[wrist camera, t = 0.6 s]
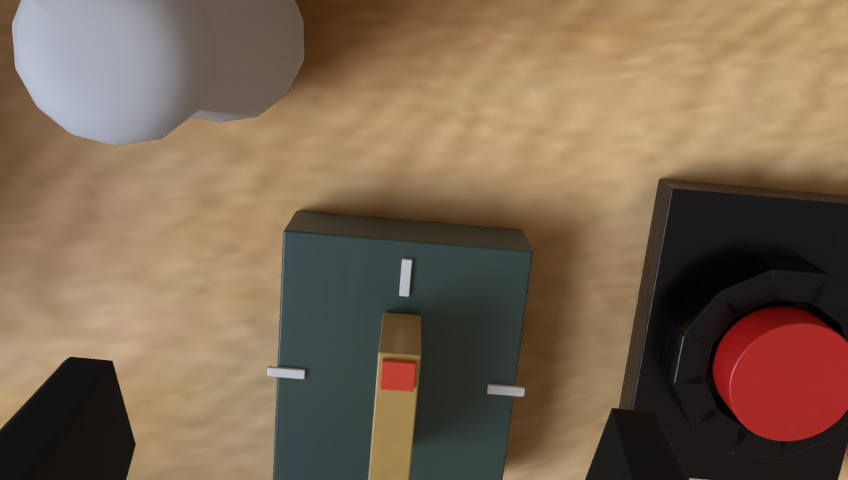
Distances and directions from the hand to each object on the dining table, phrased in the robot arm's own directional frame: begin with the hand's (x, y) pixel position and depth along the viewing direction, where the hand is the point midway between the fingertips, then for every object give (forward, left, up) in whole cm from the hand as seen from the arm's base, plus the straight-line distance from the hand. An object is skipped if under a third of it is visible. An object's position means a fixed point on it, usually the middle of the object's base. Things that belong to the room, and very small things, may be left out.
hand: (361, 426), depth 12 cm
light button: (-5, -15, -17) cm, 23 cm away
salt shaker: (+5, +6, -20) cm, 21 cm away
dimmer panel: (-7, -1, -20) cm, 21 cm away
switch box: (-5, -15, -20) cm, 25 cm away
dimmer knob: (-7, -1, -17) cm, 18 cm away
